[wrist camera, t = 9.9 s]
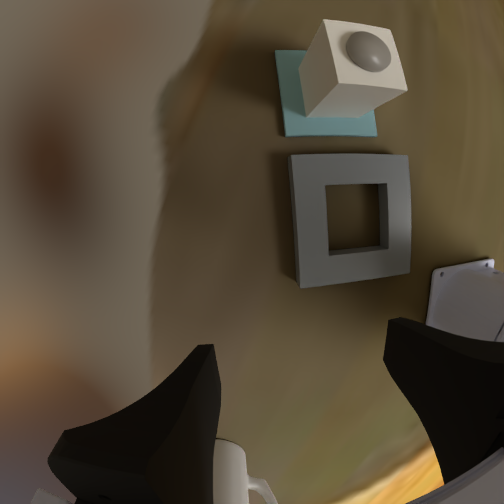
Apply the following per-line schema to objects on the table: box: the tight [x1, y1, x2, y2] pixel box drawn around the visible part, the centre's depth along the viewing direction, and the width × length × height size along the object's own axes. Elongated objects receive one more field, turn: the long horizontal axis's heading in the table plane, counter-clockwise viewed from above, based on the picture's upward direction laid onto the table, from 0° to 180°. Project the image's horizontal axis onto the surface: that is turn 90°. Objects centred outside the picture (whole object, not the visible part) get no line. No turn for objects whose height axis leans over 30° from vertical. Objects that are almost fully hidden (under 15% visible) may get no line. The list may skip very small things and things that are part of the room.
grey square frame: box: [287, 154, 411, 288], centre depth 19 cm, size 9×9×2 cm
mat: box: [275, 50, 377, 137], centre depth 17 cm, size 7×7×1 cm
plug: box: [298, 19, 408, 118], centre depth 14 cm, size 4×4×7 cm
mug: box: [213, 439, 278, 504], centre depth 19 cm, size 10×7×12 cm, turn 69°
